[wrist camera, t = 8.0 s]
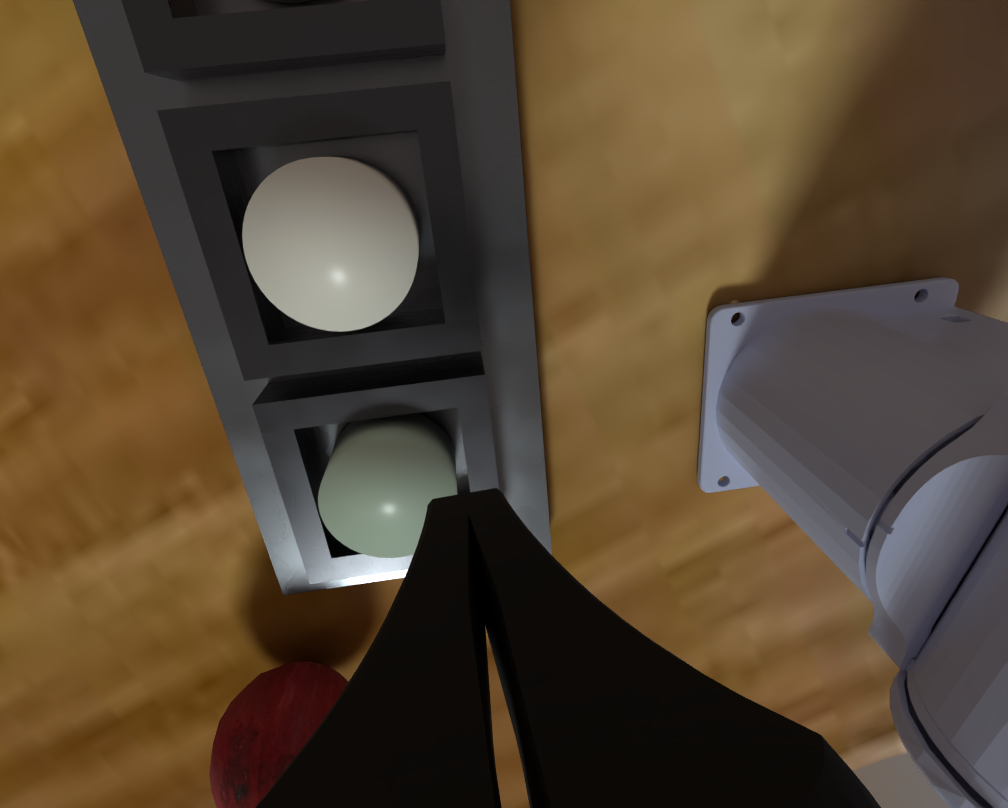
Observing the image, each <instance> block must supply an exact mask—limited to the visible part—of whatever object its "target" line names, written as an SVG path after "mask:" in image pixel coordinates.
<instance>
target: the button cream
mask: <svg viewBox="0 0 1008 808" xmlns="http://www.w3.org/2000/svg"><path fill="white" fill-rule="evenodd" d="M242 239H243V249H244V254H245V258H246V262H247V264H248V267H249V270H250V272H251V274H252V276H253V278H254V280H255V282H256V283H257V285H258V286H259V288H260V289H261V291H262V292H263V293H264V295H265V296H266V297H267V298H268V299H269V300H270V301H271V302H272V303H273V304H274V305H275V306H276V307H277V308H278V309H279V310H281V311H282V312H283V313H285V314H286V315H287V316H289V317H291V318H293V319H294V320H296V321H298V322H300V323H302V324H305V325H307V326H310V327H313V328H317V329H321V330H327V331H338V332H341V331H353V330H358V329H362V328H365V327H368V326H371V325H373V324H375V323H377V322H379V321H381V320H382V319H384V318H385V317H387V316H388V315H389V314H391V313H392V312H393V311H394V310H395V309H396V308H397V307H398V306H399V305H400V303H401V302H402V301H403V300H404V298H405V296H406V295H407V293H408V291H409V289H410V287H411V285H412V283H413V280H414V276H415V273H416V268H417V263H418V258H419V252H420V240H421V237H420V227H419V222H418V218H417V215H416V212H415V209H414V207H413V205H412V203H411V201H410V199H409V198H408V196H407V195H406V193H405V192H404V190H403V189H402V188H401V187H400V185H399V184H398V183H397V182H396V181H395V180H394V179H393V178H392V177H391V176H390V175H388V174H387V173H386V172H384V171H383V170H381V169H380V168H378V167H376V166H374V165H373V164H371V163H368V162H366V161H363V160H360V159H356V158H352V157H345V156H328V157H312V158H306V159H300V160H297V161H294V162H291V163H288V164H286V165H284V166H282V167H280V168H279V169H277V170H276V171H274V172H273V173H272V174H270V175H269V176H268V177H267V178H266V179H265V180H264V181H263V182H262V183H261V184H260V185H259V187H258V188H257V189H256V191H255V192H254V194H253V195H252V197H251V199H250V201H249V203H248V206H247V209H246V212H245V216H244V221H243V232H242Z"/></svg>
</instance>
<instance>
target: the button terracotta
mask: <svg viewBox="0 0 1008 808" xmlns="http://www.w3.org/2000/svg"><path fill="white" fill-rule="evenodd" d="M271 1H275V2H282V3H299V2H305V1H310V0H271Z"/></svg>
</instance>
